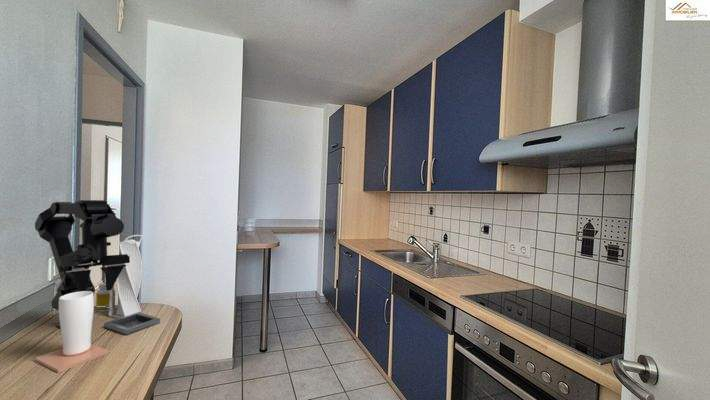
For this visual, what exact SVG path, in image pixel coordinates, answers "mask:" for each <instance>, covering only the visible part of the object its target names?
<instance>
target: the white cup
mask: <svg viewBox="0 0 710 400" xmlns="http://www.w3.org/2000/svg"><path fill="white" fill-rule="evenodd" d="M94 296H95V294H94V295H93V292H92V291H81V292H74V293H70V294H66V295H63V296H61V297H60V298H59V310H58V320H59V323H60V327H61V328H60V333H61V341H62V349H63V354H64V355H66V356H72V355H77V354H81V353H83V352H85V351H87V350H88V349H89V348H90V347H91V344H92V330H93V323H94V321H93V320H94V310H95V297H94Z"/></svg>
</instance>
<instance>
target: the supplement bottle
mask: <svg viewBox="0 0 710 400" xmlns="http://www.w3.org/2000/svg"><path fill="white" fill-rule="evenodd" d="M110 292H111V290H109V291H107V289H106V282H101V283H99V284H98V289H97V291H96V302H95V303H96V306H106V307H96V306H95V307H96V308H95V311H96V312H109V308H107V307H109V305H110ZM114 292H115V293H116V289H115V287H114Z"/></svg>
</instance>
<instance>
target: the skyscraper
mask: <svg viewBox="0 0 710 400" xmlns="http://www.w3.org/2000/svg"><path fill="white" fill-rule="evenodd" d="M133 237H140V239H139V241H137V240H135V239H130V238H133ZM143 237H144V235H142V234H133V235H129V236H128V237H125V239H124V240H123V241H119V243H118V247H119V254H118V255H122V254H127V255H128V256H129V257H130V263H125V264H124V265H126V266H125V267H124V268H123V269H122V271H121V273H120V274H119V276H118V278H117V280H116V282H115V284H116V291H117V295H118V299H119V304H118V306H117V310H116V291H115V292H114V288H115V285H114V286H113V287H112V289H111V292H110V305H109V311H108V314H107V316H106V317H108V318H112V319H118V318H121V317H125V316H128V315H131V314H134V313H137V312H139V313H142V310H141V306H140V303H139V301H138V299H137V298H138V295H139V291H140V288H141V285H142V279H143V261H142V255H141V252H140V249H139V248H140V245H141V242H142V240H143Z"/></svg>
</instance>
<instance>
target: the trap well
mask: <svg viewBox="0 0 710 400" xmlns="http://www.w3.org/2000/svg"><path fill="white" fill-rule="evenodd" d="M159 324H161V318H159V317H157V316H154V315H148V314H145V313H142V312H141V313H139V312H137V313H134V314H131V315H128V316H125V317H121V318H118V319H116V318H114V319H113V320H109V321H106V322H104V323H103V328H104V329H107V330H109V331H111V332H115V333H118V334H121V335H124V336H129V335H132V334H134V333H137V332H140V331H143V330H145V329H149V328H151V327H154V326H156V325H159Z"/></svg>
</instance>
